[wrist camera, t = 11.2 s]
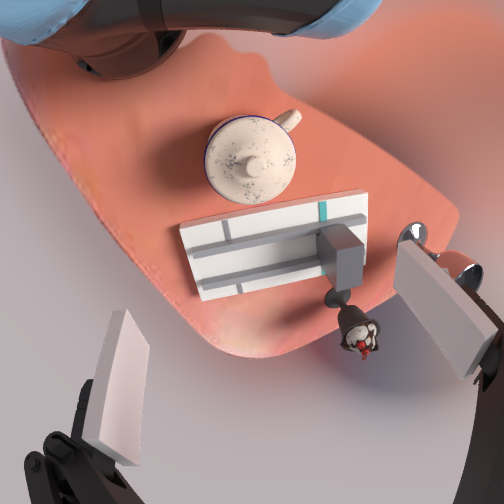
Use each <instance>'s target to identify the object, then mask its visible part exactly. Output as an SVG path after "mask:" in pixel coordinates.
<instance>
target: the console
mask: <svg viewBox="0 0 504 504" xmlns="http://www.w3.org/2000/svg"><path fill="white" fill-rule="evenodd" d="M367 223H368V193H367V192H366V191H364V190H363V189H356V190H350V191H343V192H337V193H331V194H325V195H319V196H314V197H308V198H302V199H297V200H291V201H286V202H280V203H275V204H270V205H265V206H259V207H254V208H249V209H244V210H239V211H235V212H230V213H225V214H220V215H215V216H211V217H206V218H202V219H197V220H193V221H188V222H184V223H180V228H179V230H180V233H181V237H182V240H183V244H184V247H185V250H186V253H187V257H188V260H189V263H190V266H191V270H192V273H193V276H194V279H195V282H196V285H197V288H198V291H199V294H200V297H201V300H202V301H206V300H211V299H216V298H221V297H226V296H231V295H236V294H242V293H245V292H250V291H255V290H260V289H264V288H269V287H273V286H278V285H282V284H287V283H291V282H296V281H300V280H304V279H309V278H313V277H317V276H321V275H326V274H325V273H324V271H323V269H322V268H321V259H320V258H319V256H318V255H317V247H316V234H318V233H319V229H320V228H325V227H330V226H335V225H340V224H345V225H346V226H347V227H348V228H349V229H350V230H351V231H352V232H353V233H354V234H355V235H356V236H357V237H358V238H359V239H360V240H361V241H362V242H363V243H364V263H363V265H366V249H367Z"/></svg>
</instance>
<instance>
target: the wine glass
mask: <svg viewBox="0 0 504 504" xmlns="http://www.w3.org/2000/svg"><path fill="white" fill-rule="evenodd" d="M427 237H428V231H427V228H426V226H425V225H424V224H423V223H422V222H413V223H411V224H409V225H408V226H407V227H406V228H405V229H404V230H403V231H402V233H401V234H400V236H399V239H398V243H399V242H403V241H407V240H412V241H413V242H414V243H415V244H416V245H417V246H418V247H419V248H420V249H421V250H423V251H424V252H425V253H426V254H427V255H428V256H429V257H430V258H431V259H432V260H433V261H434V262H435V263H436V264H437V265H439V266H440V267H441V268H442V269H443V270H444V271H445V272H446V273H447V274H448V275H449V276H450V277H451V278H452V279H453V280H454V281H455V282H456V283H457V284H458V285H459V286H462V285H466V286H467V287H469V288H471V289H473V290H474V291H475V292H476V293H477V291H478V289H479V287H480V285H481V283H482V280H483V268H482V267H481V266H480V265H479V264H478V263H477V262H476V261H475V260H473V259H472V258H471V257H469V256H467V255H465V254H464V253H462V252H459V251H456V250H446V251H443V252H440V253H434V252H431V251H430V250H428V249H427V248H425V247H424V245H425V244H426V241H427ZM398 243H397V249H398Z"/></svg>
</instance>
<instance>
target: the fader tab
mask: <svg viewBox="0 0 504 504" xmlns="http://www.w3.org/2000/svg"><path fill="white" fill-rule="evenodd" d="M316 247H317V255H318V256H319V258H320V259H321V268H322V269H323V271H324V273H325V274H326V276H327V277H328V279H329V281H330V282H331V284H332V286H333V287H334V289H335V290H336V292H338V291H342V290H346V289H350V288H353V287H357V286H361V285H362V278H363V263H364V243H363V242H362V241H361V240H360V239H359V238H358V237H357V236H356V235H355V234H354V233H353V232H352V231H351V230H350V229H349V228H348V227H347V226H346V225H345V224H340V225H335V226H330V227H325V228H320V229H319V233H318V234H316Z"/></svg>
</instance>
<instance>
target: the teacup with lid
mask: <svg viewBox="0 0 504 504" xmlns="http://www.w3.org/2000/svg"><path fill="white" fill-rule="evenodd" d="M301 118H302V116H301V114H300V113H299V111H298V110H296V109H292V110H289V111H286V112H284V113H282V114H281V115H279V116H278V117H276V118H275V119H274V120H270V119H268V118H265V117H261V116H254V115H236V116H232V117H229V118H227V119H225V120H223V121H221V122H220V123H219V124H218V125H217V126H216V127H215V128H214V129H213V131H212V132H211V134H210V136H209V139H208V142H207V146H206V149H205V153H204V170H205V174H206V176H207V179H208V181H209V183H210V184H211V186H212V187H213V189H214V190H215V191H216V192H217V193H218V194H220V195H221V196H222V197H224V198H225V199H227V200H229V201H231V202H234V203H238V204H244V205H254V204H260V203H264V202H267V201H269V200H271V199H273V198H275V197H276V196H277V195H279V194H280V193H281V192H282V191H283V190H284V189H285V188H286V187H287V185H288V184H289V182H290V181H291V179H292V177H293V174H294V171H295V166H296V152H295V147H294V144H293V142H292V140H291V138H290V136H289V135H288V132H289V131H291V130H292V129H293V128H294V127H295V126H296V125H297V124H298V123H299V122H300V120H301Z"/></svg>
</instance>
